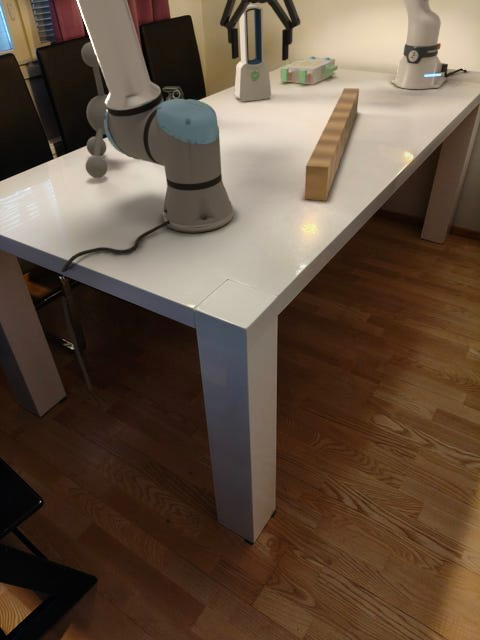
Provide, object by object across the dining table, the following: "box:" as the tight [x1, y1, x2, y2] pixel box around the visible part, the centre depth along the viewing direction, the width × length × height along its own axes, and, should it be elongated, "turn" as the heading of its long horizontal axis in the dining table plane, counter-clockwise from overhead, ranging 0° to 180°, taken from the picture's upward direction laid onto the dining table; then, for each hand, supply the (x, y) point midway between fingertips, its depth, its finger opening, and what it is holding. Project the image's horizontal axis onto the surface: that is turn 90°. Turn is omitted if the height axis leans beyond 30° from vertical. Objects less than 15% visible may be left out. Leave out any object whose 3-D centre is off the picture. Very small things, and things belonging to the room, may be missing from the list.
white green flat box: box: [280, 56, 338, 85], centre depth 206 cm, size 26×6×20 cm
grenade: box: [161, 86, 185, 101], centre depth 166 cm, size 7×6×10 cm
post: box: [304, 87, 360, 202], centre depth 136 cm, size 71×5×8 cm, turn 164°
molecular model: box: [80, 41, 109, 179], centre depth 128 cm, size 24×22×30 cm
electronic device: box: [234, 3, 272, 103], centre depth 177 cm, size 12×8×30 cm, turn 105°
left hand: (259, 58), depth 124 cm, fingers open, 13 cm apart
